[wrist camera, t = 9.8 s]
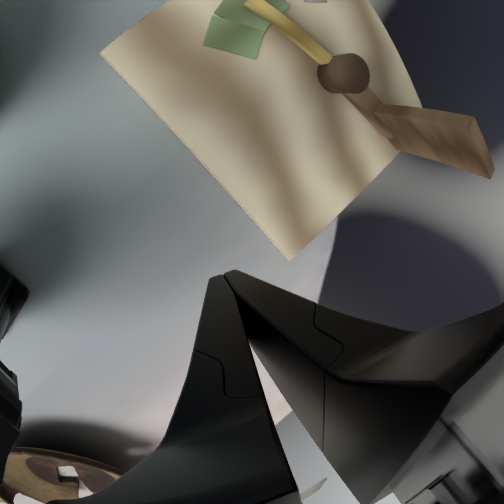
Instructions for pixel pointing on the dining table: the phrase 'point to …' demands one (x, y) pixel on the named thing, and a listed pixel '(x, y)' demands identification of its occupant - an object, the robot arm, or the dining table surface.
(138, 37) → the dial board
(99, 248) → the dining table surface
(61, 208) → the dining table surface
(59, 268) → the dining table surface
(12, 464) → the oil lamp
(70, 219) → the dining table surface
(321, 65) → the brown piece
